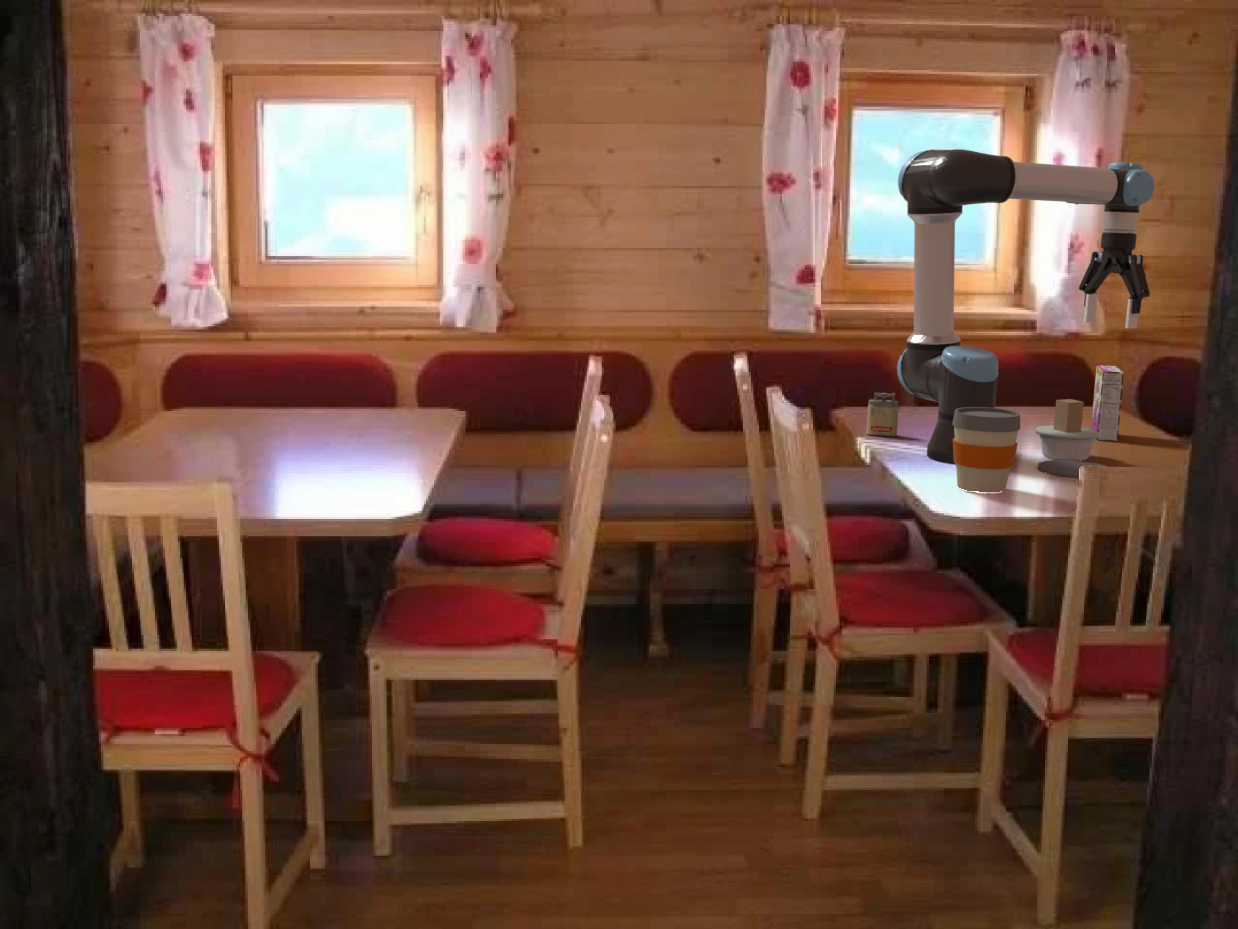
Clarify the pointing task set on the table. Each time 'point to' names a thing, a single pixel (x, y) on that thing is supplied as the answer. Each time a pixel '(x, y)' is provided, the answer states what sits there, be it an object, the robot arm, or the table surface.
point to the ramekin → (1066, 448)
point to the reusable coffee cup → (984, 447)
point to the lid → (1068, 422)
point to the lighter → (882, 415)
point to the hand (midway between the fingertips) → (1109, 325)
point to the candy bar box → (1107, 402)
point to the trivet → (1063, 467)
